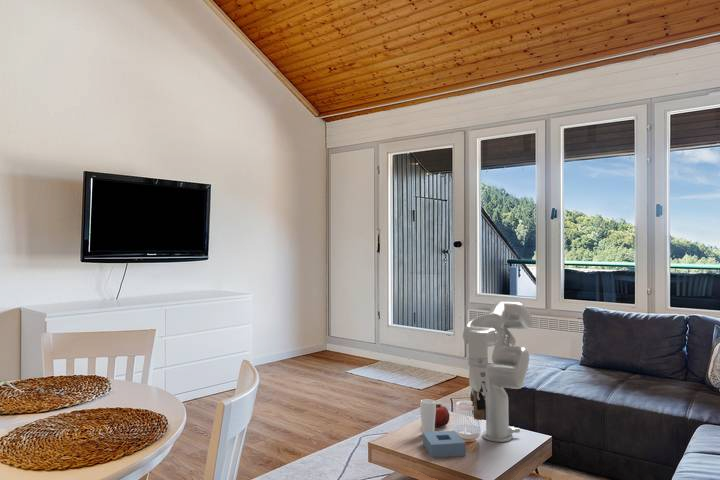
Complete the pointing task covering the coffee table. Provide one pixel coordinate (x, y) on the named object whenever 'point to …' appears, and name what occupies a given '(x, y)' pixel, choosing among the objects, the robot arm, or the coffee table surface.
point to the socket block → (444, 444)
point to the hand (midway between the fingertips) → (478, 407)
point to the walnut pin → (477, 413)
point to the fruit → (441, 415)
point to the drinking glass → (428, 415)
